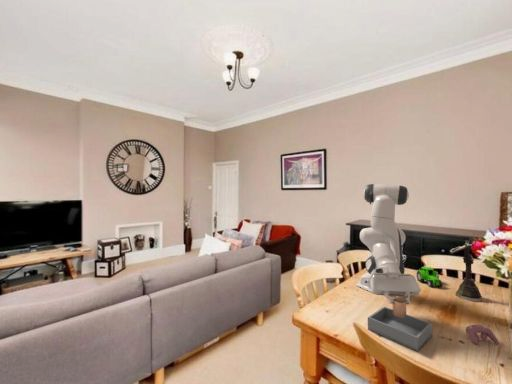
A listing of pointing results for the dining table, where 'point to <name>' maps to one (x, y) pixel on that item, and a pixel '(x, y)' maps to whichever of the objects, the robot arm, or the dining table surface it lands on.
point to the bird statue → (467, 276)
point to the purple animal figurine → (484, 334)
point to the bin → (400, 328)
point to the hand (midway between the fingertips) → (400, 303)
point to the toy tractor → (429, 276)
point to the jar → (399, 306)
